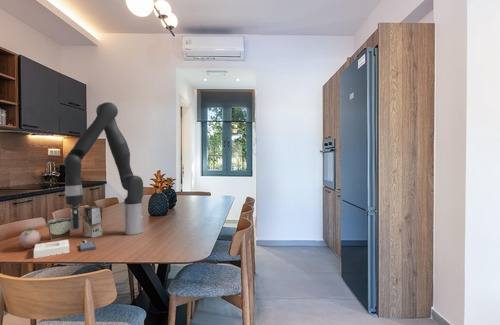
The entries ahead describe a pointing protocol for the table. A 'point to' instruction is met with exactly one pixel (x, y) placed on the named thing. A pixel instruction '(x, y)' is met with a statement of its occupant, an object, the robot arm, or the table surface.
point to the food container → (59, 228)
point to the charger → (72, 223)
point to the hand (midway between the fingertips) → (75, 227)
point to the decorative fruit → (29, 238)
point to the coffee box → (92, 221)
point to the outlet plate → (51, 248)
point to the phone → (87, 246)
